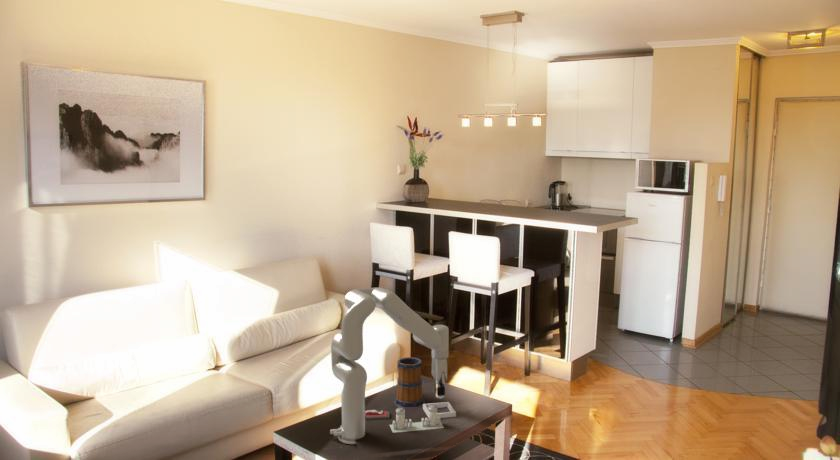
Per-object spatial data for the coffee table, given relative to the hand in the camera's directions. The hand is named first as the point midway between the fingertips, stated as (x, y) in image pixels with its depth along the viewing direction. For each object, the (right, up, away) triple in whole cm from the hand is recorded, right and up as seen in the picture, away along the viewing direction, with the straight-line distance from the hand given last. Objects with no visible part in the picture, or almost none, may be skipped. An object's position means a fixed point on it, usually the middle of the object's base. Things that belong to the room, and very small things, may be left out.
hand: (439, 393), depth 294 cm
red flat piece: (-31, -11, -3) cm, 33 cm away
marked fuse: (0, -2, 0) cm, 2 cm away
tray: (0, -10, +1) cm, 10 cm away
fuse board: (-10, -12, -13) cm, 21 cm away
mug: (-15, -8, +18) cm, 25 cm away
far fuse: (-3, -10, -12) cm, 16 cm away
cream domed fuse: (-17, -11, -15) cm, 25 cm away
